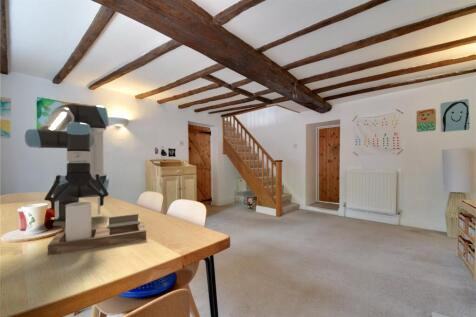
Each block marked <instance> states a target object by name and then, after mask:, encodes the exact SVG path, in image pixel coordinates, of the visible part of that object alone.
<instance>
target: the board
mask: <svg viewBox="0 0 476 317" xmlns="http://www.w3.org/2000/svg"><path fill="white" fill-rule="evenodd" d="M143 240H147V229H146V227H145V224H144V222H143V221H142V222H141V221H140V223H139V224H131V225H124V226H116V227H109V228H107V226H101V227H94V228H91V238H86V239H80V240H73V241H66V231H64V232H57V233H56V234H55V236H54V237H53V238H52V240H51V241H50V242H49V243H48V245H47V256H52V255H59V254H65V253H70V252H77V251H83V250H88V249H94V248H96V249H97V248H100V247H102V248H103V247H106V246H113V245H119V244H126V243H130V242H137V241H138V242H139V241H143Z"/></svg>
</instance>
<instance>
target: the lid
mask: <svg viewBox="0 0 476 317" xmlns="http://www.w3.org/2000/svg"><path fill="white" fill-rule="evenodd" d="M139 218H140V217H139V213H133V214H132V213H131V214H124V215H115V216H108V218H107V225H106V227H107V228H109V227H116V226H124V225H131V224H139V223H140V222H141V221H140V219H139Z"/></svg>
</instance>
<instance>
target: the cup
mask: <svg viewBox="0 0 476 317" xmlns="http://www.w3.org/2000/svg"><path fill="white" fill-rule="evenodd" d="M91 229H92V202H91V201H79V202H76V203H70V204H67V205H66V220H65V232H66V241H73V240H80V239H86V238H91Z"/></svg>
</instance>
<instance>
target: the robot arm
mask: <svg viewBox="0 0 476 317" xmlns="http://www.w3.org/2000/svg"><path fill="white" fill-rule="evenodd" d="M109 126H110V123H109V116H108V110H107V108H106V106H103V105H97V104H87V103H86V104H85V103H78V102H77V103H76V102H75V103H74V102H73V103H66V104H62V105H59V106H57V107H56V108H54V109H53V110H52V111H51V114H50V117H49V118H48V119H47V120H46V121H45V122H44V124H42V126H41V127H39V128H28V129H27V130H26V131H25V134H24V142H25V144H26V146H27V147H29V148H35V149H36V148H39V149H66V161H67V163H66V175H61V174H58V175H57V174H56V176H55V179H54V180H53V183H52V186H51V188H50V189H49V190H48V193H47V194H46V196H45V197H44V201H49V202H50V211H51V210H55V218H54V221H53V222H57V221H58V222H59V221H61V222H62V221H66V205H67V204H70V203H76V202H80V199H83V198H84V199H85V198H97V216H98V215H99V216H100V215H101V207H102V206H104V203H105V198H106V197H109V194H110V193H109V192H108V188H109V183H110V177H109V176H107V173H106V172H105V171H104V132H105V131H106V130H107V127H109Z"/></svg>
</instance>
